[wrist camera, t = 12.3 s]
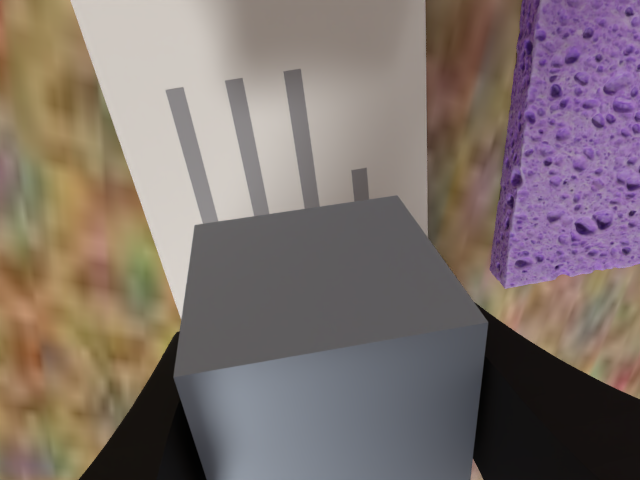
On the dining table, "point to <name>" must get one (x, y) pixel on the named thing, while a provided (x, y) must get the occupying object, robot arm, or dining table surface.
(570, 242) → the sponges
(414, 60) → the letter
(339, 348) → the cube
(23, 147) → the dining table surface
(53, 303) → the dining table surface
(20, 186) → the dining table surface
